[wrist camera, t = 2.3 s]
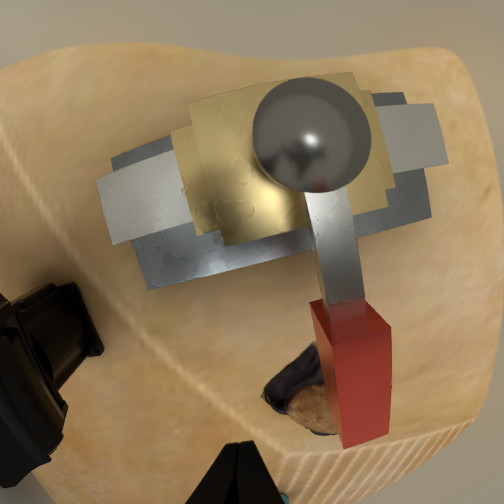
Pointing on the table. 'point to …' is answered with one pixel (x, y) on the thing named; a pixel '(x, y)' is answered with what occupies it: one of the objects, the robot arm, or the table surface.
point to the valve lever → (331, 242)
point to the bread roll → (302, 393)
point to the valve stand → (256, 186)
